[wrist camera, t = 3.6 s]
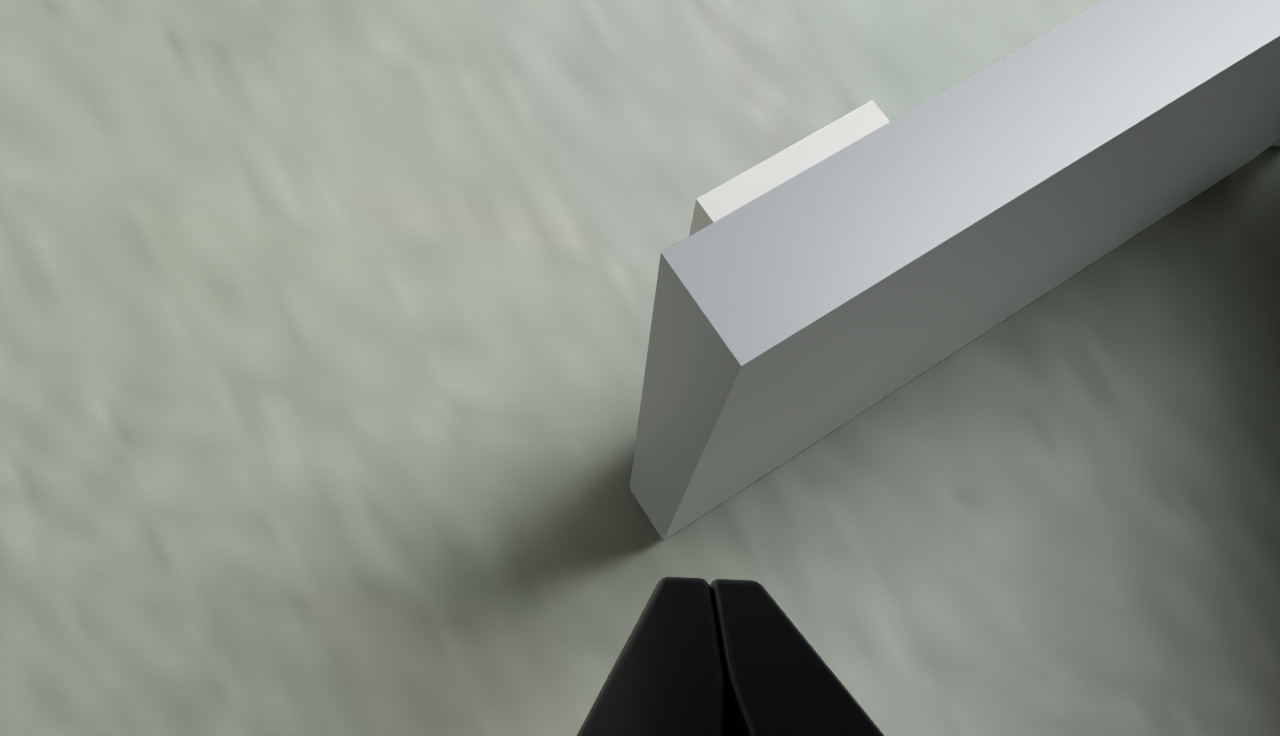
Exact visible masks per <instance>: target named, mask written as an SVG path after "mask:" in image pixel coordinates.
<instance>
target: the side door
mask: <svg viewBox="0 0 1280 736" xmlns="http://www.w3.org/2000/svg"><path fill="white" fill-rule="evenodd" d="M1279 138H1280V0H1103V1H1101V2H1099V3H1098V4H1096V5H1094V6H1092V7H1091V8H1089V9H1087V10H1085V11H1083V12H1082V13H1080V14H1078V15H1076V16H1075V17H1073V18H1071V19H1069V20H1068V21H1066V22H1064V23H1062V24H1061V25H1059V26H1057V27H1055V28H1054V29H1052V30H1050V31H1048V32H1047V33H1045V34H1043V35H1041V36H1040V37H1038V38H1036V39H1034V40H1033V41H1031V42H1029V43H1027V44H1026V45H1024V46H1022V47H1020V48H1019V49H1017V50H1015V51H1013V52H1012V53H1010V54H1008V55H1006V56H1005V57H1003V58H1001V59H999V60H998V61H996V62H994V63H992V64H991V65H989V66H987V67H985V68H984V69H982V70H980V71H978V72H977V73H975V74H973V75H971V76H970V77H968V78H966V79H964V80H963V81H961V82H959V83H957V84H956V85H954V86H952V87H950V88H949V89H947V90H945V91H943V92H942V93H940V94H938V95H936V96H935V97H933V98H931V99H929V100H928V101H926V102H924V103H922V104H921V105H919V106H917V107H915V108H914V109H912V110H910V111H908V112H907V113H905V114H903V115H901V116H900V117H898V118H896V119H894V120H893V121H891V122H890V121H889V120H888V118H887V117H886V116H885V115H884V114H883V112H882V111H881V110H880V109H879V108H878V106H877V105H876V104H875V103H874V101H873V100H871V101H870V102H868V103H866V104H864V105H863V106H861V107H859V108H857V109H855V110H854V111H852V112H850V113H848V114H847V115H845V116H843V117H841V118H839V119H838V120H836V121H834V122H832V123H831V124H829V125H827V126H825V127H823V128H822V129H820V130H818V131H816V132H815V133H813V134H811V135H809V136H807V137H806V138H804V139H802V140H800V141H799V142H797V143H795V144H793V145H791V146H790V147H788V148H786V149H784V150H782V151H781V152H779V153H777V154H775V155H774V156H772V157H770V158H768V159H766V160H765V161H763V162H761V163H759V164H758V165H756V166H754V167H752V168H750V169H749V170H747V171H745V172H743V173H742V174H740V175H738V176H736V177H734V178H733V179H731V180H729V181H727V182H726V183H724V184H722V185H720V186H718V187H717V188H715V189H713V190H711V191H710V192H708V193H706V194H704V195H702V196H701V197H699V198H697V199H696V204H695V209H694V214H693V219H692V224H691V229H690V235H689V237H688V238H686V239H684V240H682V241H681V242H679V243H677V244H675V245H673V246H672V247H670V248H668V249H666V250H665V251H663V252H661V257H660V264H659V272H658V279H657V287H656V294H655V302H654V309H653V317H652V324H651V331H650V339H649V346H648V354H647V361H646V369H645V376H644V384H643V391H642V399H641V406H640V414H639V421H638V428H637V436H636V443H635V451H634V458H633V466H632V473H631V481H630V490H631V491H632V493H633V495H634V496H635V498H636V499H637V501H638V502H639V504H640V505H641V507H642V509H643V510H644V512H645V513H646V515H647V516H648V518H649V520H650V521H651V523H652V524H653V526H654V527H655V529H656V530H657V532H658V534H659V535H660V537H661V538H662V540H663V541H664V540H666V539H667V538H669V537H670V536H672V535H673V534H675V533H676V532H678V531H680V530H681V529H683V528H684V527H686V526H687V525H689V524H690V523H692V522H693V521H695V520H697V519H698V518H700V517H701V516H703V515H704V514H706V513H707V512H709V511H710V510H712V509H714V508H715V507H717V506H718V505H720V504H721V503H723V502H724V501H726V500H727V499H729V498H731V497H732V496H734V495H735V494H737V493H738V492H740V491H741V490H743V489H744V488H746V487H748V486H749V485H751V484H752V483H754V482H755V481H757V480H758V479H760V478H761V477H763V476H764V475H766V474H768V473H769V472H771V471H772V470H774V469H775V468H777V467H778V466H780V465H781V464H783V463H785V462H786V461H788V460H789V459H791V458H792V457H794V456H795V455H797V454H798V453H800V452H802V451H803V450H805V449H806V448H808V447H809V446H811V445H812V444H814V443H815V442H817V441H819V440H820V439H822V438H823V437H825V436H826V435H828V434H829V433H831V432H832V431H834V430H836V429H837V428H839V427H840V426H842V425H843V424H845V423H846V422H848V421H849V420H851V419H853V418H854V417H856V416H857V415H859V414H860V413H862V412H863V411H865V410H866V409H868V408H870V407H871V406H873V405H874V404H876V403H877V402H879V401H880V400H882V399H883V398H885V397H887V396H888V395H890V394H891V393H893V392H894V391H896V390H897V389H899V388H900V387H902V386H903V385H905V384H907V383H908V382H910V381H911V380H913V379H914V378H916V377H917V376H919V375H920V374H922V373H924V372H925V371H927V370H928V369H930V368H931V367H933V366H934V365H936V364H937V363H939V362H941V361H942V360H944V359H945V358H947V357H948V356H950V355H951V354H953V353H954V352H956V351H958V350H959V349H961V348H962V347H964V346H965V345H967V344H968V343H970V342H971V341H973V340H975V339H976V338H978V337H979V336H981V335H982V334H984V333H985V332H987V331H988V330H990V329H992V328H993V327H995V326H996V325H998V324H999V323H1001V322H1002V321H1004V320H1005V319H1007V318H1009V317H1010V316H1012V315H1013V314H1015V313H1016V312H1018V311H1019V310H1021V309H1022V308H1024V307H1026V306H1027V305H1029V304H1030V303H1032V302H1033V301H1035V300H1036V299H1038V298H1039V297H1041V296H1043V295H1044V294H1046V293H1047V292H1049V291H1050V290H1052V289H1053V288H1055V287H1056V286H1058V285H1059V284H1061V283H1063V282H1064V281H1066V280H1067V279H1069V278H1070V277H1072V276H1073V275H1075V274H1076V273H1078V272H1080V271H1081V270H1083V269H1084V268H1086V267H1087V266H1089V265H1090V264H1092V263H1093V262H1095V261H1097V260H1098V259H1100V258H1101V257H1103V256H1104V255H1106V254H1107V253H1109V252H1110V251H1112V250H1114V249H1115V248H1117V247H1118V246H1120V245H1121V244H1123V243H1124V242H1126V241H1127V240H1129V239H1131V238H1132V237H1134V236H1135V235H1137V234H1138V233H1140V232H1141V231H1143V230H1144V229H1146V228H1148V227H1149V226H1151V225H1152V224H1154V223H1155V222H1157V221H1158V220H1160V219H1161V218H1163V217H1165V216H1166V215H1168V214H1169V213H1171V212H1172V211H1174V210H1175V209H1177V208H1178V207H1180V206H1182V205H1183V204H1185V203H1186V202H1188V201H1189V200H1191V199H1192V198H1194V197H1195V196H1197V195H1198V194H1200V193H1202V192H1203V191H1205V190H1206V189H1208V188H1209V187H1211V186H1212V185H1214V184H1215V183H1217V182H1219V181H1220V180H1222V179H1223V178H1225V177H1226V176H1228V175H1229V174H1231V173H1232V172H1234V171H1236V170H1237V169H1239V168H1240V167H1242V166H1243V165H1245V164H1246V163H1248V162H1249V161H1251V160H1253V159H1254V158H1255V157H1257V156H1258V155H1259V154H1260V153H1262V152H1263V151H1264V150H1265V149H1267V148H1268V147H1269V146H1270V145H1272V144H1273V143H1274V142H1276V141H1277V140H1278V139H1279Z"/></svg>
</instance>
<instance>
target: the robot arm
mask: <svg viewBox="0 0 1280 736" xmlns="http://www.w3.org/2000/svg"><path fill="white" fill-rule="evenodd" d="M577 736H884V735H883V733H882V732H881V731H880V730H879V728H878V727H877V726H876V725H875V724H874V722H873V721H872V720H871V719H870V717H869V716H868V715H867V714H866V713H865V711H864V710H863V709H862V708H861V706H860V705H859V704H858V703H857V701H856V700H855V699H854V698H853V697H852V695H851V694H850V693H849V692H848V690H847V689H846V688H845V687H844V686H843V684H842V683H841V682H840V681H839V679H838V678H837V677H836V676H835V674H834V673H833V672H832V671H831V670H830V668H829V667H828V666H827V665H826V663H825V662H824V661H823V660H822V659H821V657H820V656H819V655H818V654H817V652H816V651H815V650H814V649H813V647H812V646H811V645H810V644H809V643H808V641H807V640H806V639H805V638H804V636H803V635H802V634H801V633H800V632H799V630H798V629H797V628H796V627H795V625H794V624H793V623H792V622H791V621H790V619H789V618H788V617H787V616H786V614H785V613H784V612H783V611H782V609H781V608H780V607H779V606H778V605H777V603H776V602H775V601H774V600H773V598H772V597H771V596H770V595H769V594H768V592H767V591H766V590H765V589H764V587H763V586H762V585H761V584H759V583H758V582H756V581H751V580H727V579H716V580H714V581H713V582H712V583H711V585H710V586H709V584H708V582H707V581H705V580H704V579H701V578H681V577H665V578H663V579H661V580H660V581H659V582H658V584H657V586H656V588H655V589H654V591H653V593H652V595H651V597H650V599H649V601H648V603H647V604H646V606H645V608H644V610H643V612H642V614H641V616H640V618H639V620H638V621H637V623H636V625H635V627H634V629H633V631H632V633H631V635H630V636H629V638H628V640H627V642H626V644H625V646H624V648H623V650H622V652H621V653H620V655H619V657H618V659H617V661H616V663H615V665H614V667H613V668H612V670H611V672H610V674H609V676H608V678H607V680H606V682H605V684H604V685H603V687H602V689H601V691H600V693H599V695H598V697H597V699H596V700H595V702H594V704H593V706H592V708H591V710H590V712H589V714H588V715H587V717H586V719H585V721H584V723H583V725H582V727H581V729H580V731H579V732H578V734H577Z"/></svg>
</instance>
